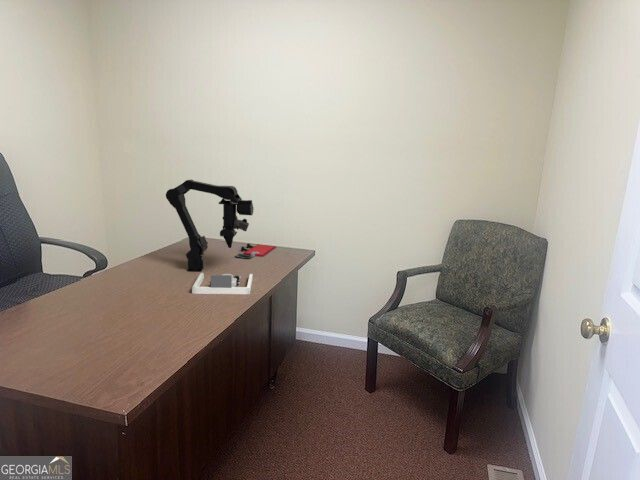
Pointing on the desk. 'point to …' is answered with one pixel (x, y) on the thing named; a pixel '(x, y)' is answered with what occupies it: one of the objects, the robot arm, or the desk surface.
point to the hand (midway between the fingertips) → (229, 247)
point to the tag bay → (220, 285)
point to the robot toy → (233, 280)
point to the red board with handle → (255, 251)
